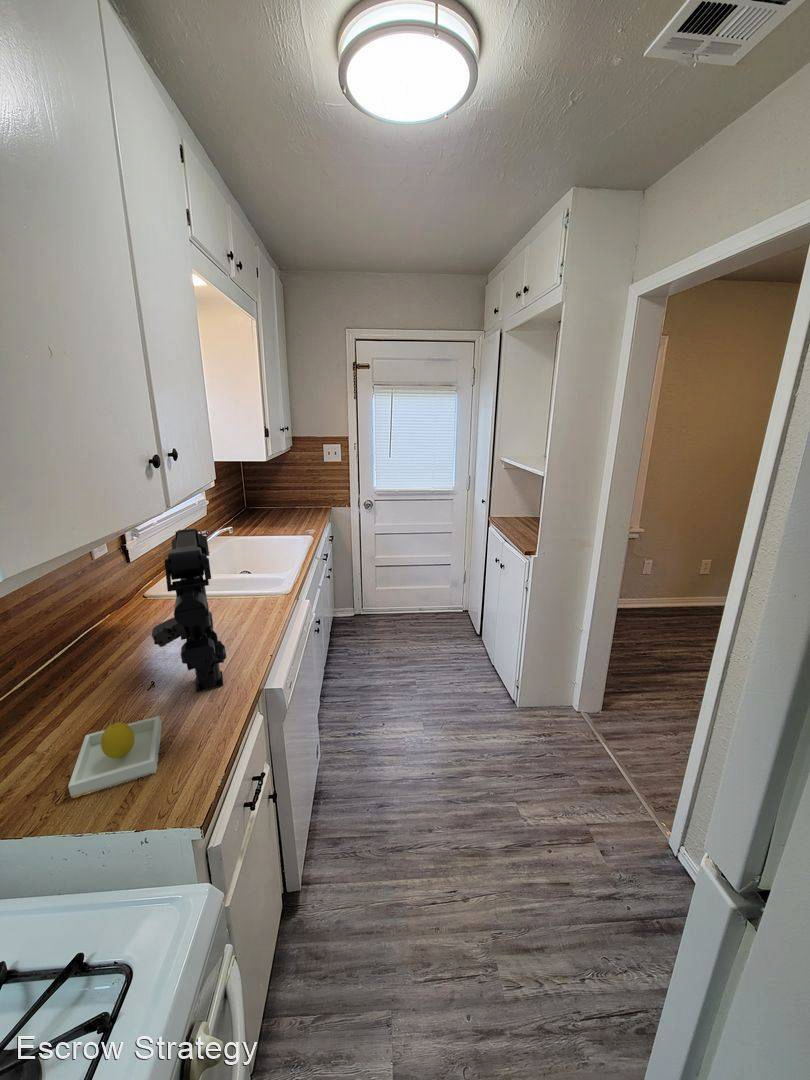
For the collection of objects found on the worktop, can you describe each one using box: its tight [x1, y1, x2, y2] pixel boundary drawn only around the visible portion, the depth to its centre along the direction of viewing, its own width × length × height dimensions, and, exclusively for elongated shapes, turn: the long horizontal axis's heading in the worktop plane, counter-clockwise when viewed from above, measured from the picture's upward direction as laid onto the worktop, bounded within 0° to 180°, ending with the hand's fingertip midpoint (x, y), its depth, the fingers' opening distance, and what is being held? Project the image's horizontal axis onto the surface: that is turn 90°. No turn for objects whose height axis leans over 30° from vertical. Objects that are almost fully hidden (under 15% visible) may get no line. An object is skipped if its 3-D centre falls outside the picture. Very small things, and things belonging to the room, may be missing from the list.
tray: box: [67, 715, 162, 798], centre depth 86 cm, size 14×14×3 cm
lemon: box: [101, 722, 134, 759], centre depth 85 cm, size 6×6×8 cm
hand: (203, 667), depth 96 cm, fingers open, 9 cm apart
